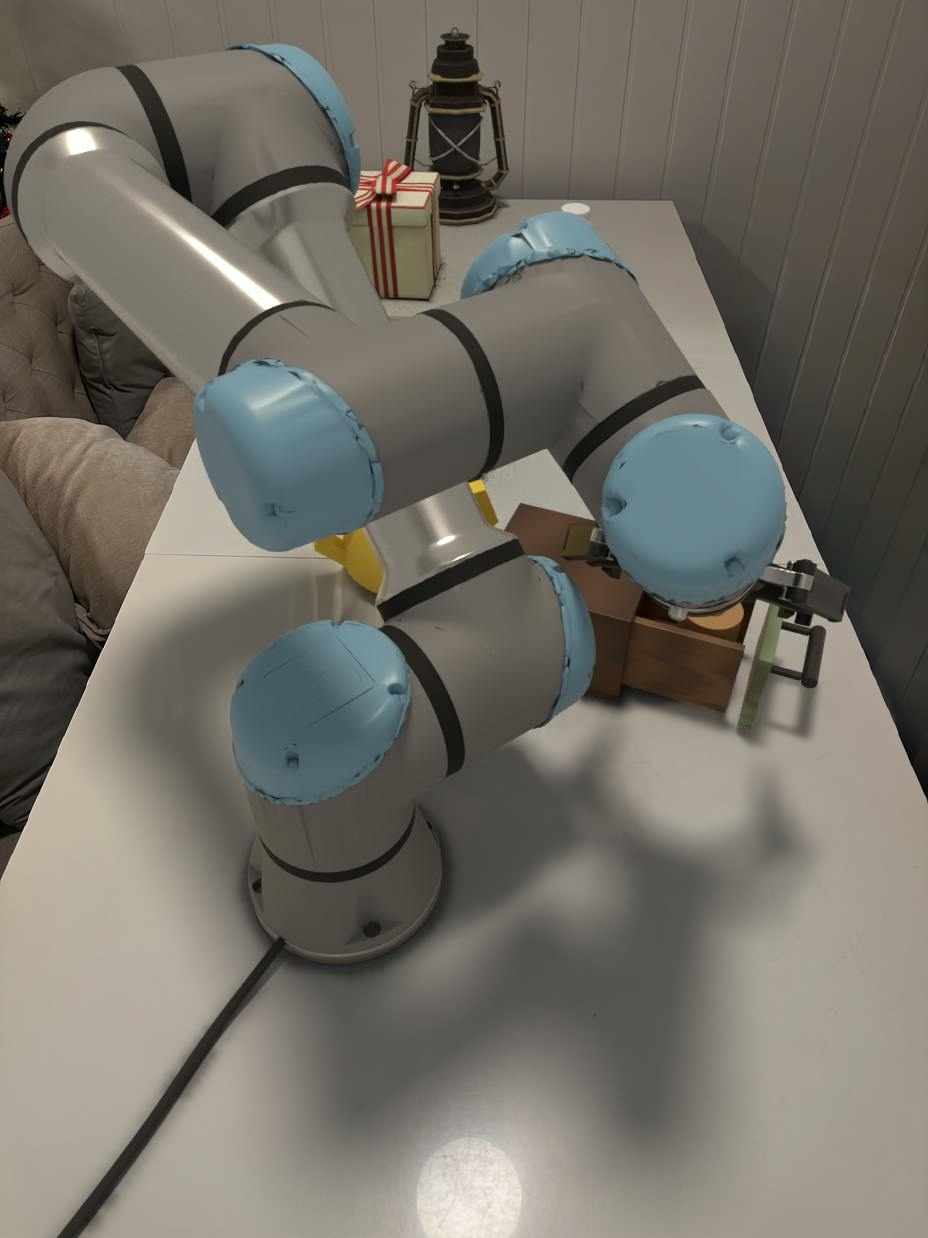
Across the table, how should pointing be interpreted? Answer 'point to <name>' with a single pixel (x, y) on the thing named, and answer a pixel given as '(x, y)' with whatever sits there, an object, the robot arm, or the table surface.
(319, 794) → the robot arm
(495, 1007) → the table surface
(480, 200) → the lantern
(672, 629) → the drawer
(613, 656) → the cabinet
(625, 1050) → the table surface
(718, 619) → the toilet paper roll
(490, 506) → the teapot
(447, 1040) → the table surface
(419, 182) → the gift box
